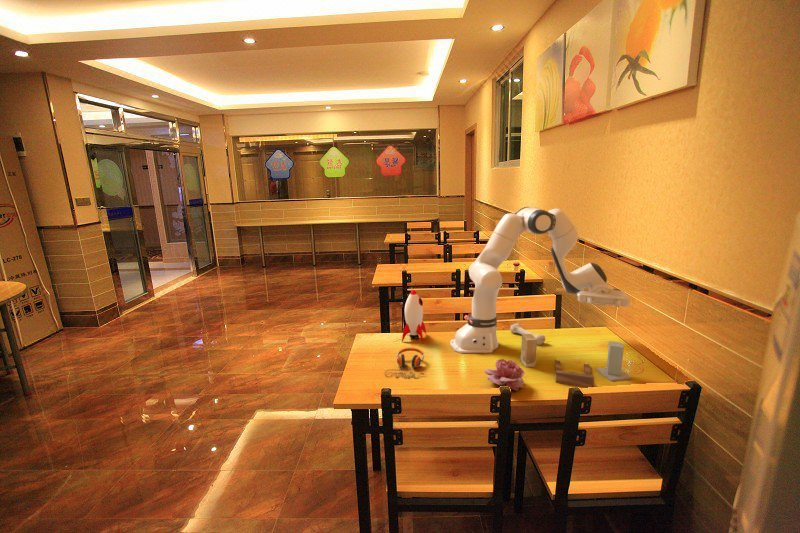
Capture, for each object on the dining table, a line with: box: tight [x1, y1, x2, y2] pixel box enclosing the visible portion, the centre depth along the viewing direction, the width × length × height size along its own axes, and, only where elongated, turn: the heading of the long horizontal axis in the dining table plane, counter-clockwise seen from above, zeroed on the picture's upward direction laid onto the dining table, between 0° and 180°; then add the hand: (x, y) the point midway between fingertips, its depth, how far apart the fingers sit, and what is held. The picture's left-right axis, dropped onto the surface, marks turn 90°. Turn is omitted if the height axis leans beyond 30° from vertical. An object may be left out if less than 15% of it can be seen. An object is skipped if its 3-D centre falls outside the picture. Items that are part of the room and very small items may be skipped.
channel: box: [554, 359, 595, 388], centre depth 160 cm, size 18×13×4 cm
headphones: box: [384, 346, 425, 380], centre depth 169 cm, size 17×5×20 cm
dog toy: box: [509, 322, 546, 346], centre depth 197 cm, size 20×6×5 cm, turn 26°
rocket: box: [401, 289, 427, 343], centre depth 198 cm, size 11×11×25 cm
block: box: [606, 341, 625, 376], centre depth 158 cm, size 4×4×12 cm
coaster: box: [595, 367, 633, 382], centre depth 159 cm, size 9×9×1 cm
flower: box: [484, 358, 526, 392], centre depth 152 cm, size 15×15×10 cm
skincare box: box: [520, 334, 538, 368], centre depth 169 cm, size 6×4×12 cm
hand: (604, 303), depth 169 cm, fingers open, 8 cm apart
